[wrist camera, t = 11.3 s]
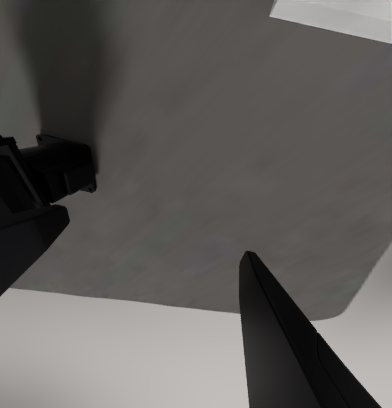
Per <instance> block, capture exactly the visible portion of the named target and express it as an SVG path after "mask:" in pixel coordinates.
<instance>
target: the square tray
mask: <svg viewBox="0 0 392 408" xmlns="http://www.w3.org/2000/svg"><path fill="white" fill-rule="evenodd" d="M269 17H274V18H278V19H283V20H287V21H292V22H296V23H301V24H305V25H309V26H314V27H318V28H323V29H327V30H332V31H336V32H341V33H345V34H350V35H354V36H359V37H363V38H368V39H372V40H377V41H381V42H385V43H390V44H392V0H274V2H273V5H272V9H271V12H270V16H269Z"/></svg>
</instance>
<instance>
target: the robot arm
mask: <svg viewBox="0 0 392 408" xmlns="http://www.w3.org/2000/svg"><path fill="white" fill-rule="evenodd" d="M36 139H37V142H38V146H35V147H30V148H24V149H18V147H17V145H16V141H15V139H14V137H2V136H1V135H0V296H1V295H2V294H3V293H4V292H5V291H6V290H7V289H8V288H9V287H10V286H11V285H12V284H13V283H14V282H15V281H16V280H17V279H18V278H19V277H20V276H21V275H22V274H23V273H24V272H25V271H26V270H27V269H28V268H29V267H30V266H31V265H32V264H33V263H34V262H35V261H36V260H37V259H38V258H39V257H40V256H41V255H42V254H43V253H44V252H45V251H46V250H47V249H48V248H49V247H50V246H51V244H52V243H53V242H54V241H55V240H56V239H57V237H58V236H59V235H60V234H61V233H62V231H63V230H64V229H65V228H66V227H67V225H68V224H69V222H70V219H69V215H68V211H67V208H66V207H65V206H61V205H50V203H54V202H56V201H58V200H60V199H62V198H64V197H66V196H67V195H72V194H74V193H75V192H77V191H79V190H82V191H86V192H90V193H93V192H95V191H96V187H95V180H94V173H93V166H92V159H91V152H90V148H89V146H87V145H85V144H81V143H77V142H73V141H68V140H64V139H60V138H56V137H51V136H47V135H43V134H39V135H36ZM84 148H85V149H86V150H85V149H84ZM49 202H50V203H49ZM239 303H240V314H241V324H242V334H243V345H244V355H245V366H246V377H247V387H248V397H249V408H381V406H380V405H379V404H378V403H377V402H376V401H375V400H374V398H373V397H372V396H371V395H370V394H369V393H368V392H367V391H366V389H365V388H364V387H363V386H362V385H361V383H360V382H359V381H358V380H357V379H356V378H355V377H354V375H353V374H352V373H351V372H350V371H349V369H348V368H347V367H346V366H345V365H344V364H343V362H342V361H341V360H340V359H339V357H338V356H337V355H336V354H335V353H334V351H333V350H332V349H331V348H330V346H329V345H328V344H327V343H326V341H325V340H324V339H323V338H322V336H321V335H320V334H319V333H317V330H316V329H315V328H314V327H313V325H312V324H311V322H310V321H309V320H308V319H307V317H306V316H305V315H304V314H303V312H302V311H301V310H300V309H299V307H298V306H297V305H296V304H295V302H294V301H293V300H292V299H291V297H290V296H289V295H288V293H287V292H286V291H285V290H284V288H283V287H282V286H281V285H280V283H279V282H278V281H277V280H276V278H275V277H274V276H273V275H272V273H271V272H270V271H269V269H268V268H267V267H266V266H265V264H264V263H263V262H262V261H261V259H260V258H259V257H258V256H257V254H256V253H254V252H251V251H246V252H245V253H244V255H243V257H242V259H241V261H240V265H239Z"/></svg>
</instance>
